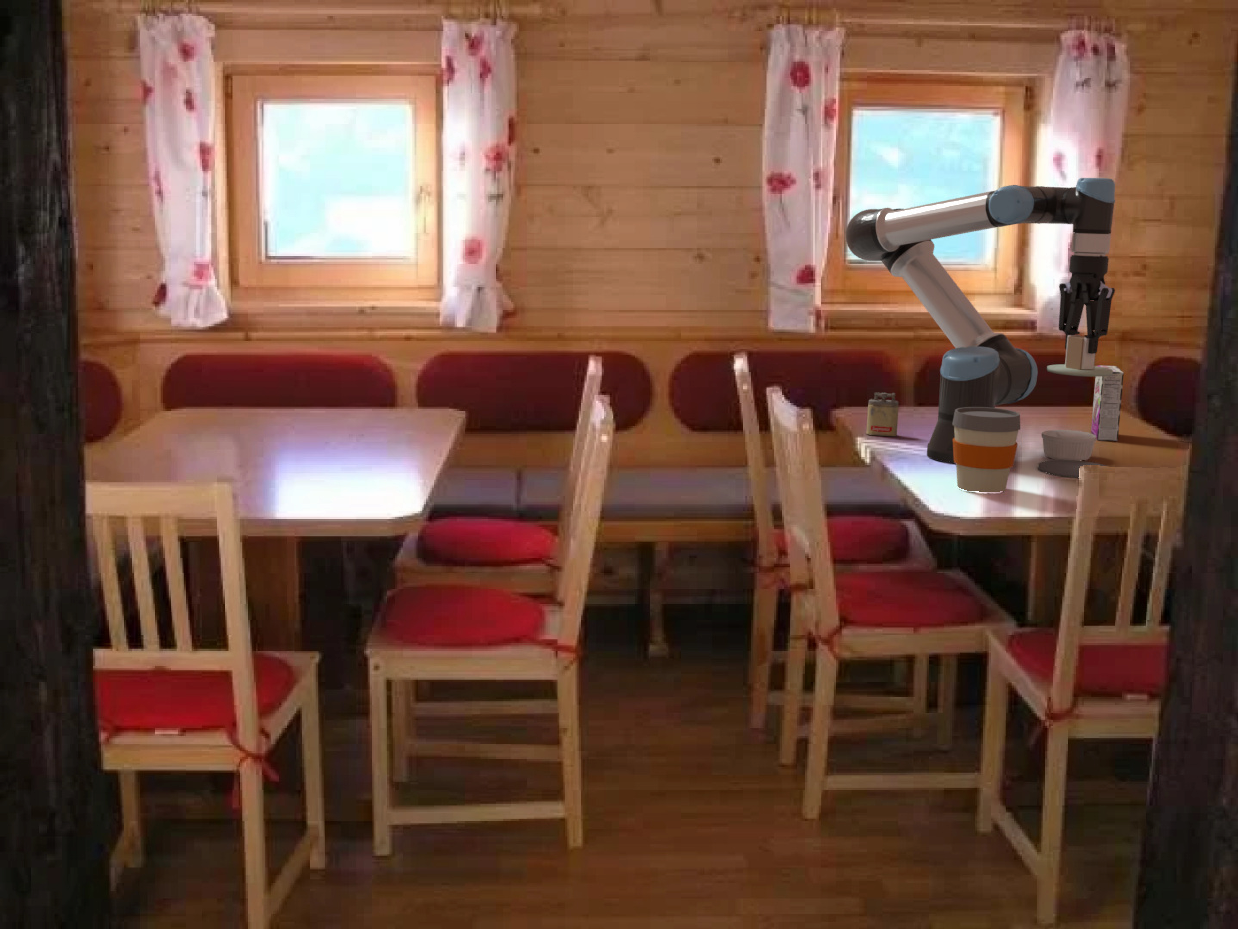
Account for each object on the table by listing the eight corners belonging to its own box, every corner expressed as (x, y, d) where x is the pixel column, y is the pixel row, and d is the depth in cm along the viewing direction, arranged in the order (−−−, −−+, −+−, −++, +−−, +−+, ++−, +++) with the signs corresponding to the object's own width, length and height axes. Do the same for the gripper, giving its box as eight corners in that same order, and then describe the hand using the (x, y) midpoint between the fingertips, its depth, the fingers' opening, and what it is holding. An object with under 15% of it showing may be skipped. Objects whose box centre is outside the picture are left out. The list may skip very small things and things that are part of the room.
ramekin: (1029, 454, 296) (1031, 430, 295) (1069, 451, 300) (1071, 428, 299) (1063, 464, 286) (1065, 439, 285) (1105, 461, 290) (1107, 437, 289)
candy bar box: (1089, 432, 324) (1095, 364, 321) (1111, 433, 323) (1117, 365, 320) (1095, 440, 314) (1102, 370, 310) (1118, 441, 313) (1125, 371, 309)
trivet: (1070, 480, 269) (1070, 476, 268) (1022, 465, 282) (1023, 462, 282) (1130, 476, 274) (1130, 472, 274) (1080, 462, 288) (1080, 458, 287)
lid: (1078, 377, 273) (1082, 341, 272) (1033, 369, 285) (1036, 334, 283) (1126, 375, 279) (1129, 339, 277) (1080, 367, 290) (1083, 333, 289)
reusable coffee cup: (1025, 496, 253) (1031, 417, 250) (960, 496, 252) (966, 417, 249) (1001, 482, 266) (1007, 407, 263) (939, 481, 265) (944, 406, 262)
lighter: (865, 435, 314) (868, 392, 312) (866, 432, 317) (869, 390, 315) (896, 437, 312) (899, 394, 310) (897, 434, 316) (900, 392, 314)
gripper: (1135, 256, 271) (1123, 372, 276) (1073, 252, 286) (1063, 361, 291) (1107, 256, 268) (1095, 373, 272) (1046, 252, 283) (1036, 362, 288)
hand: (1079, 367), depth 282 cm, fingers closed on lid, 4 cm apart
